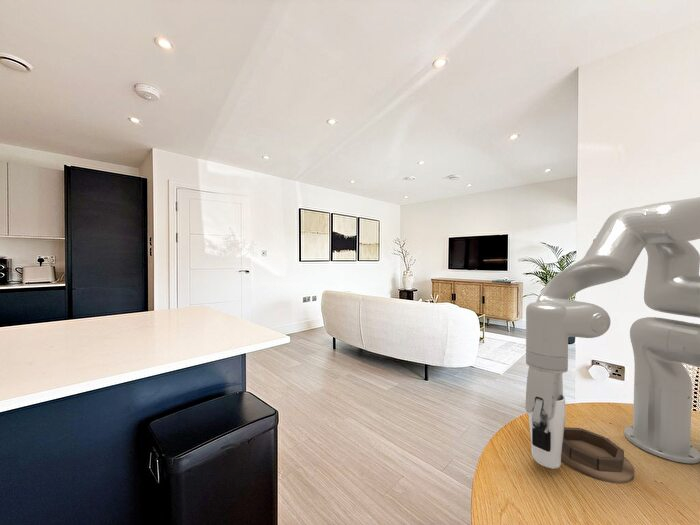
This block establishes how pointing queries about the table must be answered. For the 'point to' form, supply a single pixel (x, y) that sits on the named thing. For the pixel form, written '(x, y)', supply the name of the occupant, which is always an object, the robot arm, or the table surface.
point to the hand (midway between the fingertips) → (545, 440)
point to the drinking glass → (557, 432)
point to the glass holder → (595, 456)
